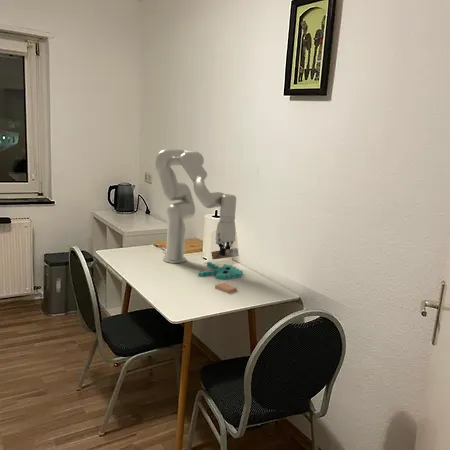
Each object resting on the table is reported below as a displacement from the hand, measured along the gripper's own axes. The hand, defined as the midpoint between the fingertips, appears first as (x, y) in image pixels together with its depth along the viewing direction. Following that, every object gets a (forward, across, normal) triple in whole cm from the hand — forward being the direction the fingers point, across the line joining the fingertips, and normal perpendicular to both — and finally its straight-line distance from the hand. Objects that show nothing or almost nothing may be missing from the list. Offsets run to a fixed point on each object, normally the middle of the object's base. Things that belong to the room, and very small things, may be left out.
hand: (224, 254), depth 230 cm
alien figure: (+11, 0, -1) cm, 11 cm away
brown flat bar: (+2, 0, +1) cm, 2 cm away
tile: (+9, +16, +14) cm, 23 cm away
